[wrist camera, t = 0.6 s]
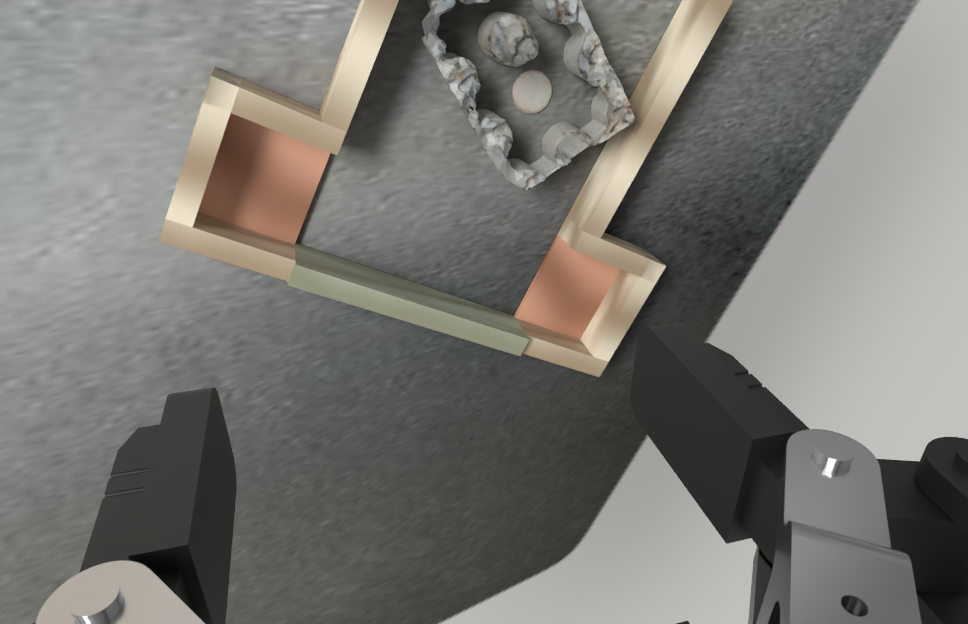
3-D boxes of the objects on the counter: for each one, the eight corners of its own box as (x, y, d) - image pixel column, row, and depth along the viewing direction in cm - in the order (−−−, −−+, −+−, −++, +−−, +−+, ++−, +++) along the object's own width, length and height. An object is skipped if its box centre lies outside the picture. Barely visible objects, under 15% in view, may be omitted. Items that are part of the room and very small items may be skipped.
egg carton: (611, 112, 38) (646, 129, 34) (499, 185, 38) (522, 209, 35) (529, -79, 32) (559, -82, 29) (397, 8, 32) (412, 16, 29)
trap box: (322, -270, 27) (327, -294, 24) (773, 33, 38) (809, 39, 35) (165, 223, 34) (156, 245, 31) (584, 356, 45) (602, 381, 42)
